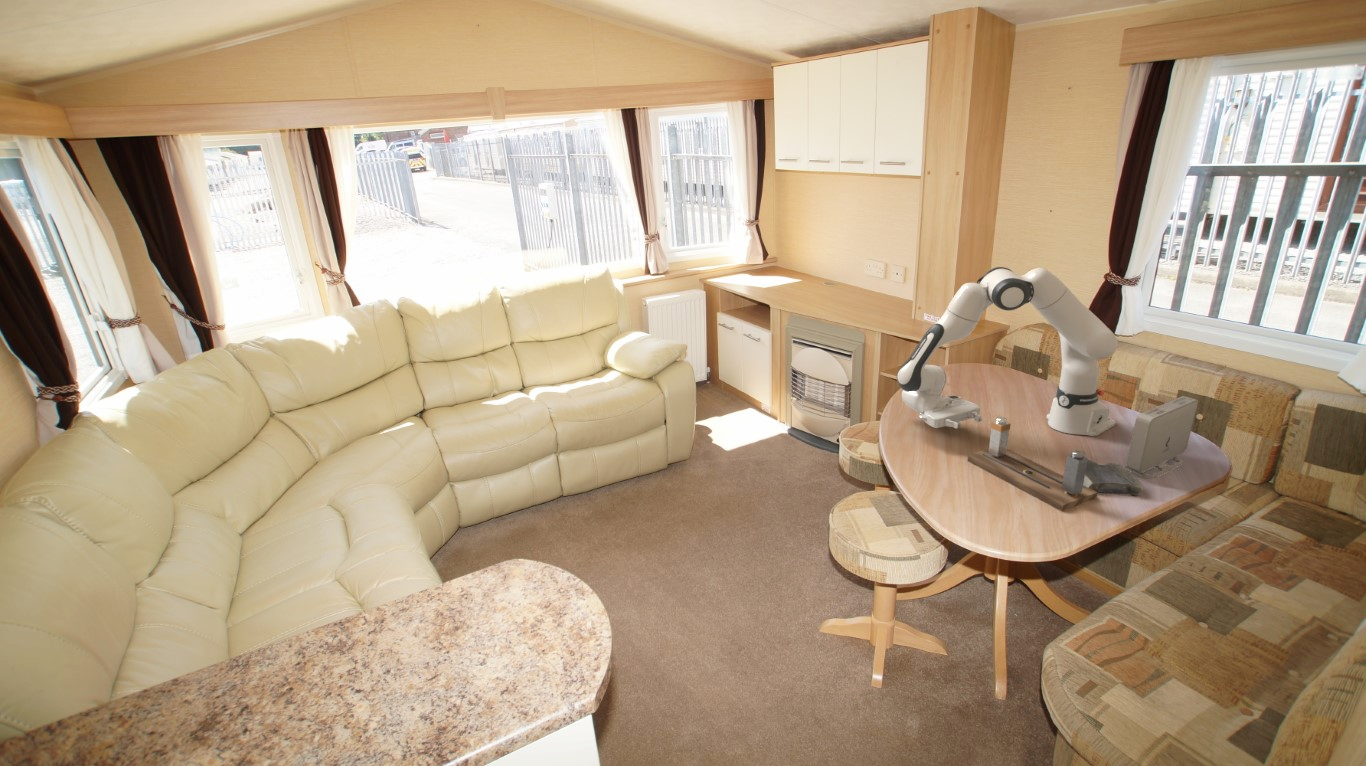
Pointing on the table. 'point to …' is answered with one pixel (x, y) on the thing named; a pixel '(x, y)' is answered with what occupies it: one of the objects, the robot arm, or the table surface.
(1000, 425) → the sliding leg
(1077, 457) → the fixed leg
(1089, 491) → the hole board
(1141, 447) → the network device
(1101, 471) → the fossil
